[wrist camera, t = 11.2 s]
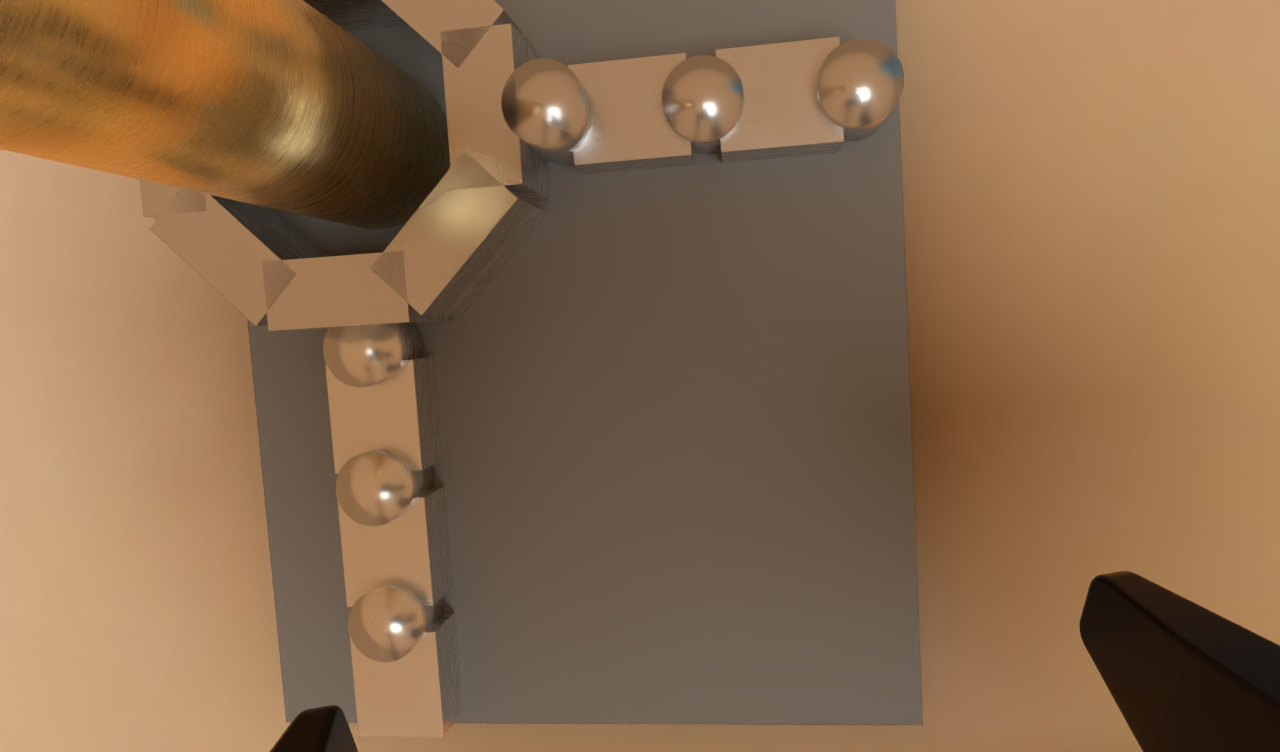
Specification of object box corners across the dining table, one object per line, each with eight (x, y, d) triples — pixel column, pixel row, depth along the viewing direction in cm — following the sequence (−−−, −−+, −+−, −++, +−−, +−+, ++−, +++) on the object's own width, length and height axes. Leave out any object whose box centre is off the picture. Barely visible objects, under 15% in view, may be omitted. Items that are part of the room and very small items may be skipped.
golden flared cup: (458, 272, 18) (-428, 152, 4) (263, 236, 19) (-1073, 27, 5) (492, 56, 18) (-382, -831, 4) (290, 25, 18) (-1101, -853, 5)
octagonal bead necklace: (912, 712, 18) (938, 774, 15) (266, 710, 20) (201, 764, 17) (880, -100, 17) (904, -169, 14) (194, -14, 19) (114, -62, 16)
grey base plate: (913, 703, 19) (922, 725, 18) (308, 702, 21) (286, 722, 20) (883, -54, 18) (891, -76, 17) (244, 22, 20) (217, 6, 19)
